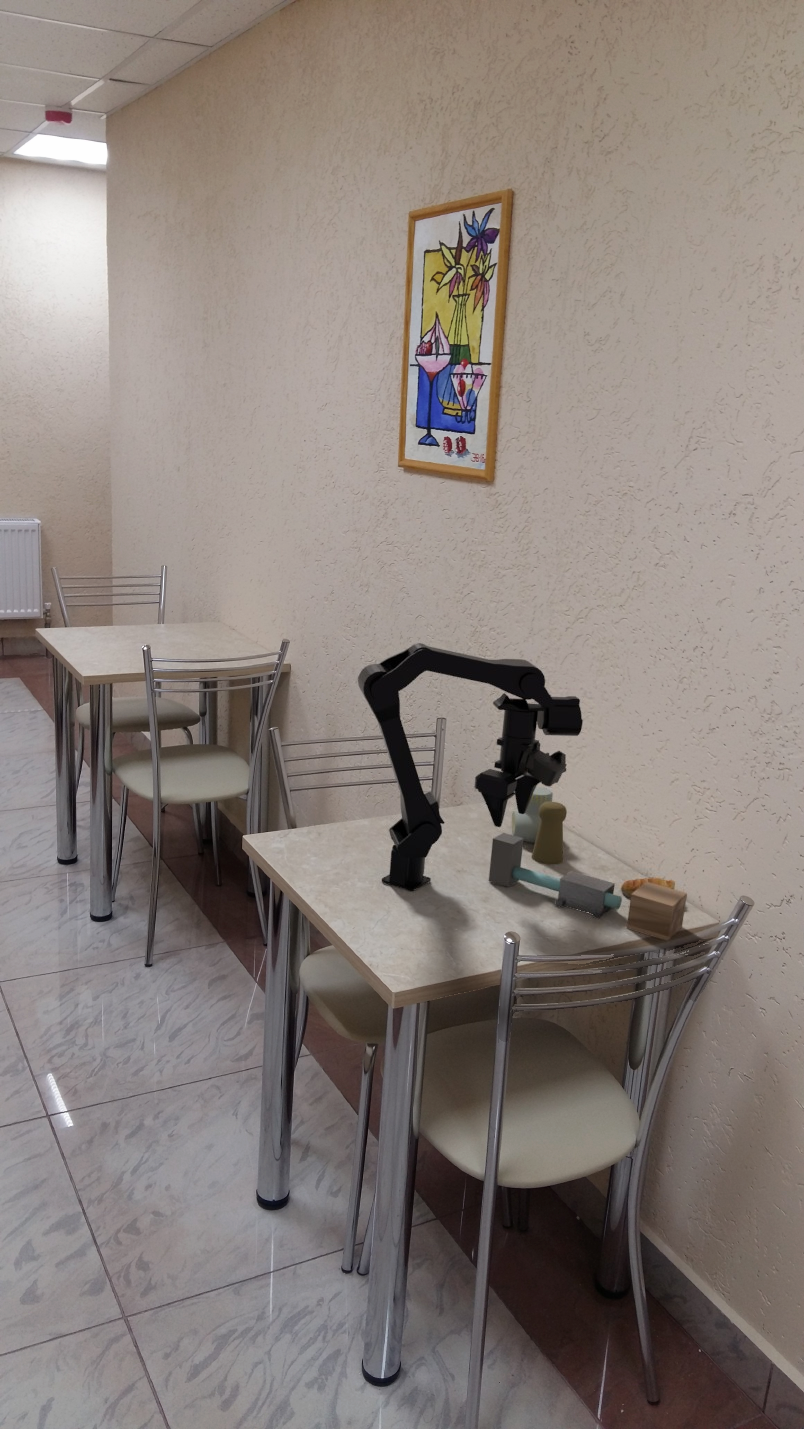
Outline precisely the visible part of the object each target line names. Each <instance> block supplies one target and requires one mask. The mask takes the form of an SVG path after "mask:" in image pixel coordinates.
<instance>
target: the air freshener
mask: <svg viewBox="0 0 804 1429" xmlns="http://www.w3.org/2000/svg"><path fill="white" fill-rule="evenodd" d="M553 797H554V796H553V792H552V790H550V789H548V788H546V787H542V786H536V788H535V790H534V792H533V795H532V797H531V800H530V802H529V804H528V807H527V809H526V812H525V814H520V813H518V808H517V807H516V809H514V810H513V811H512V813H511V833H512V834H511V835H514V836H517V837H521V838H524V839H523V842H527V843H531V844H535V841H536V837H537V833H538V829H539V825H540V821H541V818H540V817H539V808H540V806H541V804H542V803H544V802H553Z"/></svg>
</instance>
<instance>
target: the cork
mask: <svg viewBox="0 0 804 1429" xmlns="http://www.w3.org/2000/svg"><path fill="white" fill-rule="evenodd" d="M567 813H568V812H567V807H566V806H565V805H564V804H563V803H562V802H561V803H560V802H557V801H552V802H544V803H542V804H541V806H540V808H539V817H540V818H541V821H540V825H539V829H538V833H537V837H536V841H535V843H534V845H533V850H532V853H531V859H532V860H533V861H535V862H536V863H539V864H542V865H553V866H554V865H559V864H562V863H564V828H563V826H564V825H563V824H564V823H563V822H565V820H566V818H567Z"/></svg>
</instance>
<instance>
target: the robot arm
mask: <svg viewBox="0 0 804 1429" xmlns="http://www.w3.org/2000/svg"><path fill="white" fill-rule="evenodd" d="M426 671H427V672H432V673H436V674H441V675H446V676H451V677H455V678H459V679H464V680H469V681H473V682H478V683H482V684H488V685H491V686H493V687H496V688H497V689H500V690H501V691H504V693H502V694H501V696H500V697H498V698H496V699H495V700H493V701H492V702H493V703H492V705H493V706H494V707H495V708H497V709H498V710H499V711H504V713H503V724H502V733H501V737H499V738H497V739H496V746H500V751H499V760H496V761H494V769H492V768H489V769H487V770H484V771H482V772H480V773H478V774H477V775H476V776H475V777H474V785H473V788H474V789H475V790H477V791H478V792H479V793H481V796H482V798H483V800H484V802H485V805H486V807H487V809H488V812H489V815H490V817H491V820H492V822H493V825H494V827H496V828H501V827H502V825H503V821H504V818H505V812H506V809H507V805H508V800H509V799H511V798H512V797H513V796H514V797H515V802H516V809H517V808H518V813H520V814H525V812H526V809H527V807H528V804H529V802H530V800H531V797H532V795H533V792H534V790H535V788H536V787H538V785H539V784H540V783H541V784H542V785H543V786H546V787H552V786H553V785H554V784H558V783H559V781H560V779H561V777H562V775H563V774H564V773H566V772H567V768H566V767H567V764H566V761H567V760H566V757H567V756H566V754H565V753H564V752H562V751H561V750H557V751H555V752H553V753H552V754H551V755H550V752H546V753H545V752H544V751H542V750H541V742H540V740H538V739H536V733H537V728H538V730H542V732H543V735H545V736H558V737H559V736H560V737H561V736H563V737H564V736H565V737H566V736H567V737H578V736H579V735H580V734H581V732H582V728H583V722H584V720H583V716H582V709H581V706H580V703H581V699H580V698H579V697H577V696H576V695H574V696H573V695H569V696H552V695H551V694H550V692H549V691H548V689H547V687H545V685H546V678H545V677H546V676H545V674H544V673H543V672H542V670H541V669H539V668H538V667H537V666H536V665H534V664H533V663H532V662H530V661H528V660H527V659H519V658H502V659H501V658H500V659H499V658H498V659H488V658H482V657H479V656H475V655H470V654H465V653H461V652H457V651H452V650H447V649H443V648H438V647H434V646H429V645H427V644H425V643H423V642H422V643H421V642H417V643H414V644H412V645H411V646H409V647H408V648H406V649H405V650H402V651H401V652H398V653H396V654H394V655H391V656H389V657H388V658H386V659H384V660H382V661H381V662H379V663H372V664H368V665H366V666H365V667H364V668H362V670H361V671H360V673H359V675H358V676H357V683H358V688H359V689H360V691H361V694H362V695H363V697H364V699H365V701H366V702H367V704H368V706H369V708H370V709H371V711H372V713H373V715H374V717H375V719H376V722H377V724H378V727H379V730H380V733H381V737H382V740H383V742H384V746H385V748H386V753H387V755H388V759H389V761H390V765H391V768H392V771H393V774H394V777H395V781H396V783H397V787H398V789H399V790H398V791H399V795H400V812H401V818H400V819H398V821H396V822H395V823H394V824H393V825H392V826H391V827H390V828H389V829H388V832H389V835H390V838H391V841H392V842H393V845H392V847H391V848H392V849H391V852H390V853H391V854H390V864H389V874H388V875H386V876H384V877H382V878H381V882H382V883H385V884H386V885H391V886H394V887H397V888H399V889H403V890H406V891H410V892H413V891H416V890H417V889H420V888H421V887H423V886H424V885H426V884H428V883H430V882H431V881H432V878H431V877H429V876H425V875H424V874H425V864H426V862H425V861H426V858H427V857H428V855H429V853H430V850H431V848H432V847H433V845H435V844H436V842H437V841H439V840H440V838H441V836H442V834H443V828H442V824H443V825H444V824H445V821H444V819H443V818H442V816H441V814H440V807H439V802H438V800H437V798H435V796H434V794H433V793H432V791H431V790H429V791H428V792H426V793H425V792H424V790H423V787H422V784H421V783H422V782H421V781H420V777H419V775H418V771H417V768H416V764H415V762H414V758H413V755H412V752H411V747H410V745H409V742H408V738H407V736H406V733H405V729H404V725H403V722H402V719H401V702H400V701H401V700H400V693H399V692H400V691H402V690H404V689H405V688H407V687H409V685H410V684H412V683H413V682H414V681H415V680H416V679H417V678H418V677H419V676H420V675H421V674H423V673H425V672H426ZM505 692H506V693H505ZM507 693H508V694H510V695H513V696H515V697H517V698H512V697H509V696H508V695H507ZM527 700H530V701H531V700H534V702H536V703H530V702H529V703H528V701H527ZM497 769H500V771H499V770H497Z"/></svg>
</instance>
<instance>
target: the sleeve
mask: <svg viewBox="0 0 804 1429" xmlns="http://www.w3.org/2000/svg"><path fill="white" fill-rule="evenodd" d="M559 879H560V885H559V892H558V896H557V899H555V904H554V906H555V905H556V906H555V907H559V906H560V907H559V908H563V907H566V906H568V907H567V908H569V907H571V908H570V909H573V908H574V909H573V910H576V909H578V910H577V911H579V910H581V911H580V912H582V911H585V912H584V913H586V912H589V913H591V914H590V915H592V914H593V915H592V916H594V917H595V918H594V917H593V918H594V919H597V920H600V918H602V917H603V916H604V915H605V914H607V913H608V912H610V911H611V910H612V909H613V908H611V907H608V906H605V905H604V901H605V894H606V893H610V894H614V892H615V884H616V883H615V882H611V881H608V880H604V879H600V878H597V877H594V876H590V875H587V874H584V873H579V872H575V871H573V870H571V871H569V872H568V873H566V874H565V875H563V876H562V877H560V878H559ZM562 906H563V907H562ZM589 913H588V914H589Z"/></svg>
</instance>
